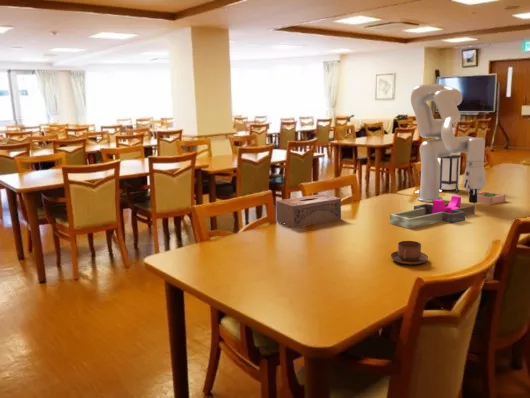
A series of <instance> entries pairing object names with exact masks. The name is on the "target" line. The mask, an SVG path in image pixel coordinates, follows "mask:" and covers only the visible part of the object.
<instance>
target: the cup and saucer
mask: <svg viewBox="0 0 530 398" xmlns="http://www.w3.org/2000/svg"><path fill="white" fill-rule="evenodd" d="M397 246H398V247H397V248H398V249H397V250H396V251H394V252H391V254H390V257H391V259H392V260H393V261H395V262H396V263H399V264H403V265H419V264H424V263H425V262H426V261H428V260H429V255H427V254H426V253H425V252H421V250H422V243H420V242H419V241H415V240H402V241H399V242H398V244H397Z"/></svg>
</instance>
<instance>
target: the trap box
mask: <svg viewBox="0 0 530 398" xmlns="http://www.w3.org/2000/svg"><path fill="white" fill-rule="evenodd" d="M449 203H450V202H446V203H445V202H444V205H445V207H446V206H447V205H448V204H449ZM475 212H476V205H473V204H472V205H468V206H463V207H461V208H457V209H452V211H451V213H446V212H438V213H434V214H432V213H433V204H431V203H423V204H417V205H414V206H413V209H410V210H406V211H401V212H396V213H391V214H389V224H391V225H394V226H398V227H402V228H404V229H405V228H406V229H409V230H410V229H414V228H418V227H424V226H428V225H432V224H436V223H440V222H441V223H442V222H443V223H447V224H451V225H452V224H458V223H461V222H464V221H466V217H467V216H472V215H475Z"/></svg>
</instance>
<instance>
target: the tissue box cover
mask: <svg viewBox="0 0 530 398" xmlns="http://www.w3.org/2000/svg"><path fill="white" fill-rule="evenodd" d="M275 203H276V204H275V205H276V206H275V207H276V210H275V211H276V222H277V223H280V222H281V223H280V224H282V223H285V224H286V225H285V224H284V225H285V226H287V225H288V227H290V228H293V229H296V228H300V227H301V228H302V227H304V226H305V227H306V225H307V226H311V224H313V225H317V224H316V223H318V224H322V222H324V223H328V222H327V221H329V222H333V220H334V221H339V219H340V220H342V199H341V197H340V198H339V197H336V196H332V195H328V194H325V193H320V194H313V195H306V196H298V197H292V198H287V199H285V198H283V199H279V200H278V199H277V200H276V202H275Z"/></svg>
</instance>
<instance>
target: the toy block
mask: <svg viewBox="0 0 530 398" xmlns="http://www.w3.org/2000/svg"><path fill="white" fill-rule="evenodd" d="M448 203H449V204H448V205H447V206H446V207H445V205H444V204H445V201H444V200H443V199H442V200H438V199H436V200H433V202H432V205H433V213H432V214H434V213H438V212H446V213H451V211H452V209H457V208H462V207H461V205H462V196H457V195H452V196H451V197H450V200H449V202H448Z"/></svg>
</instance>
